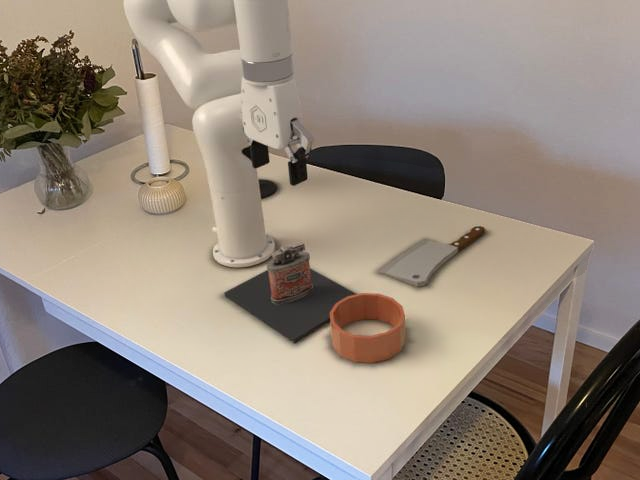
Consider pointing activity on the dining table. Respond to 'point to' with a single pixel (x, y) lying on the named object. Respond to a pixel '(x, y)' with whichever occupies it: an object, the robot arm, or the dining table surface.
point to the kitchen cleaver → (427, 258)
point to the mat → (290, 304)
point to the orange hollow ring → (363, 345)
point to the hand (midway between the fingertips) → (279, 173)
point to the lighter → (289, 274)
